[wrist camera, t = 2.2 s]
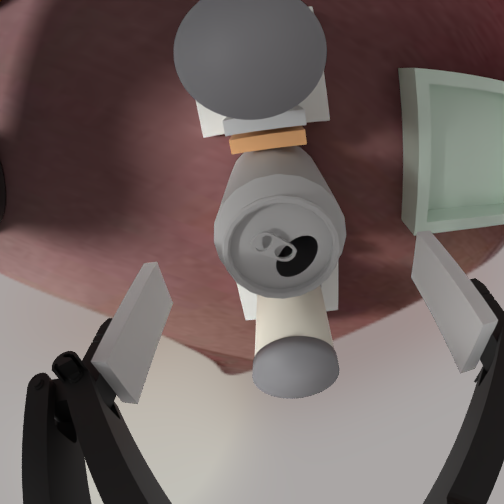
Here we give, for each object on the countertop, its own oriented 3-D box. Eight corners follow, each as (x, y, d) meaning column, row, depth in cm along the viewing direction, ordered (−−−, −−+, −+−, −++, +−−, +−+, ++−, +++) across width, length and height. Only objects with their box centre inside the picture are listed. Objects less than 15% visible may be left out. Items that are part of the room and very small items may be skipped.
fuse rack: (246, 312, 34) (239, 410, 23) (184, 28, 19) (118, -8, 8) (336, 302, 33) (358, 398, 22) (310, 9, 18) (350, -47, 7)
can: (286, 233, 28) (297, 327, 18) (215, 193, 27) (185, 272, 16) (334, 169, 25) (381, 236, 15) (260, 121, 23) (258, 154, 13)
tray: (401, 219, 27) (414, 235, 24) (397, 68, 20) (414, 68, 17) (503, 209, 25) (519, 222, 23) (511, 84, 18) (531, 88, 15)
